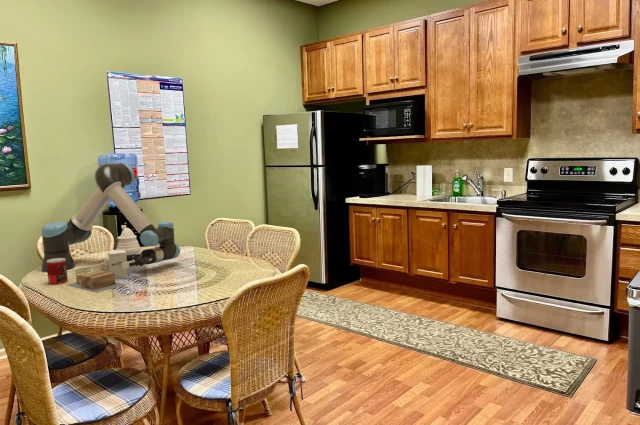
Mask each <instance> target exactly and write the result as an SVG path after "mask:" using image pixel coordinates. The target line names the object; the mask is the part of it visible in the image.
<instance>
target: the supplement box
mask: <svg viewBox="0 0 640 425" xmlns="http://www.w3.org/2000/svg"><path fill="white" fill-rule="evenodd" d="M107 256H108V258H107V259H109V265H108V267H109V269H108V270H109V271H108V272H111V273H115V280H118V279H125V278H128V277H129V274H128V268H125V269H122V264H121V263H124V262H127V258H126V251H125V250H118V251H116V250H110V251H108V252H107Z"/></svg>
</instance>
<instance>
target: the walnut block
mask: <svg viewBox="0 0 640 425" xmlns="http://www.w3.org/2000/svg"><path fill="white" fill-rule="evenodd" d="M80 279H81V287H85V288H89V289H93V290H96V289H99V288H103V287H107V286H111V285H115V282H116V279H115V273H111V272H110V271H106V270H98V271H93V272H89V273H88V274H84V275H80Z"/></svg>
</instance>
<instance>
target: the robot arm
mask: <svg viewBox="0 0 640 425" xmlns="http://www.w3.org/2000/svg"><path fill="white" fill-rule="evenodd" d="M94 179H95V180H94V181H95V183H96V185H97V188H96V190H95V191H94V192H93V193H92V194H91V196H90V197H89V198H88V200H87V201H86V203H85V204H84V205H83V207H81V210H80V211H79V212H78V214H74V215H72V216H71V217H70V219H69V220H68V222H66V221H54V222H50V223H45V225H43V226H42V227H41V237H42V247H43V258H42V263H41V266H40V267H41V272H47V263H46V262H47V260H49V259H54V258H65V259H66V267H67V271H68V270H71V269H74V268H75V267H76V266H75V265H76V263H75V261H74V258H73V256H72V255H71V251H70V246H71V245H75V244H80V243H83V242H85V241H87V240H88V239H89V238H90V237H91V235H92V232H93V231H92V230H93V226H94V225H93V224H94V222H95V221H96V219H97V218H99V216H100V214H101V213H102V211H103V210H104V209H105V208H106V206H107V205H108V204H109V202H110V201H112V202H113V203H114V205H115V206H116V208H118V210H119V211H120V212H121V213H122V214H123V215H124V216H123V217H125V218H126V219H127V220H128V222H129V223H130V224H131V225H132V227H134V229H135V230H136V231H137V233H139V234H138V235H140V236H139V239H140V242H141V244H142V245H143V246H144V247H151V248H146V249H143V250H142V251H141V254H132V255H126V258H127V262H124V263H121V264H122V269H125V268H127V269H129V268H133V267H138V266H139V267H142V266H145V265H147V266H148V265H151V264H155V263H156V264H157V263H159V262H163V261H167V260H169V261H170V260H172V259H176V258H178V257H179V256H180V253H181V248H180V246H179V244H178V243H175V227H174V223H173V221H160V222H158V224H157V228H156V227H155V226H154V224H153V223H152V222H151V221H150V220H149V219H148V218H147V216H146V215H145V214H144V212H143V211H142V210H141V208H139V207H138V206H139V205H137V204H136V203H135V201H134V200H133V199H132V197H131V196H130V195H129V194H128V193H127V192H126V190H125V189H124V188H125V187H126V186H130V185H131V184H132V183H133V182H134V180H135V172H134V169H133V168H132V166H130V165H129V164H127V163H123V162H119V163H117V162H116V163H104V164H102V165H100V166H99V167H98V168H97V169H96V171H95V175H94ZM158 244H159V246H156V245H158ZM154 246H155V247H154ZM103 263H104V264H103V265H104V267H105V266H109V258H107V259H104V260H103Z"/></svg>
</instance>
